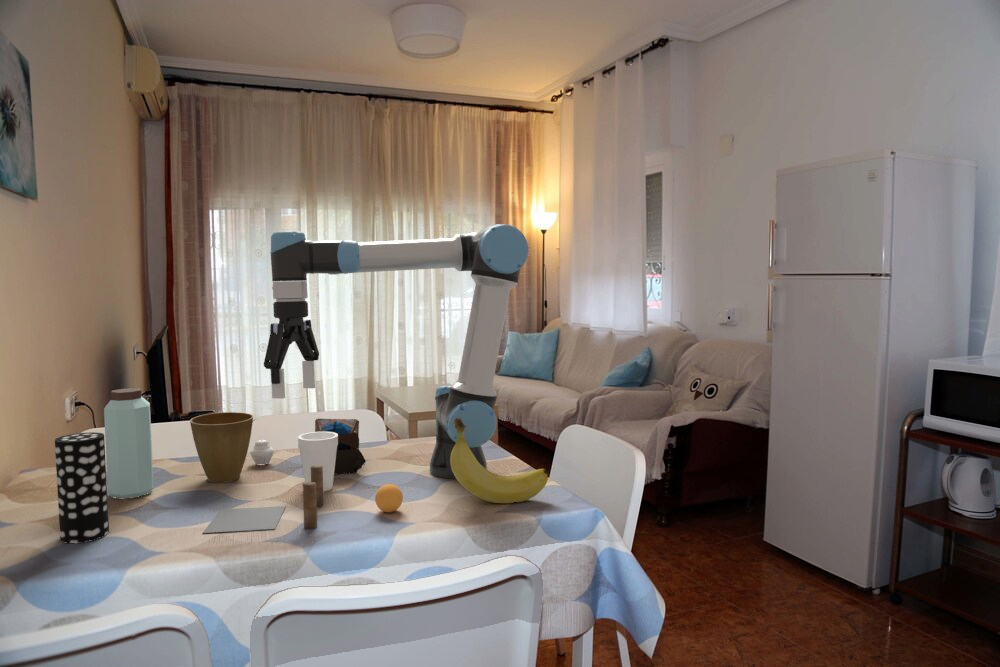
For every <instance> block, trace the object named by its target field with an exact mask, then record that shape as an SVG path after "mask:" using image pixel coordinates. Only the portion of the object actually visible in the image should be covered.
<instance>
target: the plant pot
mask: <svg viewBox="0 0 1000 667" xmlns="http://www.w3.org/2000/svg"><path fill="white" fill-rule="evenodd" d="M253 422H254V415H253V414H251V413H248V412H237V411H234V412H233V411H226V412H225V411H224V412H223V411H222V412H214V413H213V412H211V413H206V414H205V413H204V414H201V415H198V416H195V417H192V418H191V419H189V424H190V428H191V432H192V439H193V442H194V446H195V449H196V452H197V456H198V458H199V461H200V464H201V467H202V469H203V471H204V473H205V476H206V478H207V480H208V481H209V482H210V481H211V483H214V482H224V483H229V482H228V481H230V482H234V481H237V480H238V479H239V478H240V476H241V473H242V471H243V468H244V465H245V463H246V462H245V461H246V459H247V454H248V450H249V447H250V441H251V437H252V430H253ZM233 480H234V481H233Z"/></svg>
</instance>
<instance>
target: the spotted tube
mask: <svg viewBox="0 0 1000 667" xmlns="http://www.w3.org/2000/svg"><path fill="white" fill-rule="evenodd" d="M54 450H55V452H54V454H55V467H56V468H55V470H56V484H57V485H56V486H57V503H58V504H57V505H58V520H59V524H58V525H59V539H60V540H61V541H63V542H67V543H66V544H69V543H75V544H79V543H78V542H84V543H87V542H86V541H89V540H93V541H95V540H94V539H97V538H99V537H102V536H104V535H106V534H107V533H108V532H109V533H110V525H109V523H110V521H109V520H110V519H109V503H108V480H107V461H106V441H105V433H102V432H96V431H95V432H93V431H92V432H80V433H79V432H78V433H77V432H76V433H72V434H71V433H70V434H67V435H61V436H58V437H56V438H54ZM109 533H108V534H109ZM108 534H107V535H108ZM107 535H106V536H107ZM104 537H105V536H104ZM102 538H103V537H102ZM99 539H100V538H99ZM60 540H59V541H60ZM97 540H98V539H97ZM61 541H60V542H61ZM63 542H62V543H63ZM89 542H90V541H89Z"/></svg>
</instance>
